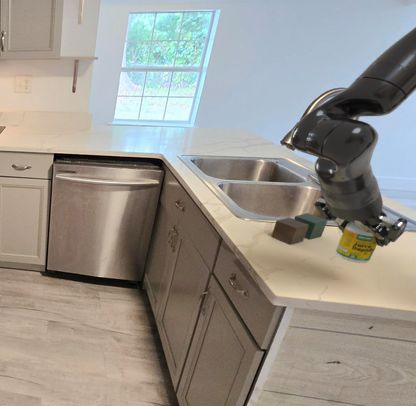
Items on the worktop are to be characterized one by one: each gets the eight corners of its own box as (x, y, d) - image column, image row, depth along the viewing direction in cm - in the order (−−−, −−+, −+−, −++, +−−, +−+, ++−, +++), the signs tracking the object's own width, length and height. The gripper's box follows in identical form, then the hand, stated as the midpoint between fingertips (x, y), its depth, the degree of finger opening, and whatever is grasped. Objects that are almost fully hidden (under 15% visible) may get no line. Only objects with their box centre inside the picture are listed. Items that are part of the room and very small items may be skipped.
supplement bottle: (357, 251, 80) (374, 212, 76) (376, 265, 75) (395, 223, 72) (328, 249, 81) (344, 210, 78) (345, 262, 76) (362, 221, 73)
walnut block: (303, 241, 99) (309, 225, 97) (290, 244, 97) (296, 228, 95) (283, 233, 103) (289, 217, 101) (271, 236, 102) (276, 220, 100)
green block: (321, 236, 101) (327, 220, 99) (309, 239, 99) (315, 223, 97) (301, 228, 105) (307, 213, 103) (289, 231, 104) (295, 215, 102)
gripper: (417, 189, 62) (425, 238, 71) (320, 166, 75) (337, 210, 83) (385, 222, 63) (397, 267, 71) (294, 194, 75) (313, 235, 84)
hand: (365, 236), depth 77 cm, fingers closed on supplement bottle, 5 cm apart
